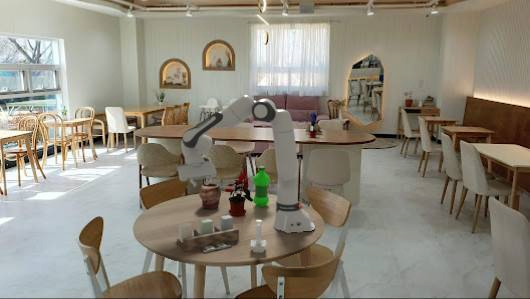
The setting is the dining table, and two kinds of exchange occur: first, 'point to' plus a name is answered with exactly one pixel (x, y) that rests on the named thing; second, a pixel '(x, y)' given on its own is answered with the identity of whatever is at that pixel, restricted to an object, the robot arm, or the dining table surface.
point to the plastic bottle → (261, 187)
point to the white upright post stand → (258, 239)
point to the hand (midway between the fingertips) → (201, 185)
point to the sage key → (206, 226)
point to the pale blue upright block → (226, 222)
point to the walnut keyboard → (210, 240)
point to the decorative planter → (210, 195)
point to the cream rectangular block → (185, 231)
